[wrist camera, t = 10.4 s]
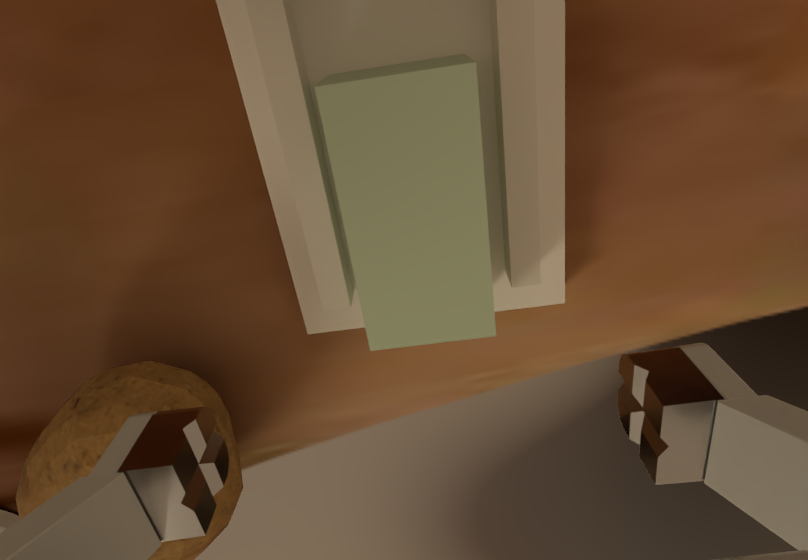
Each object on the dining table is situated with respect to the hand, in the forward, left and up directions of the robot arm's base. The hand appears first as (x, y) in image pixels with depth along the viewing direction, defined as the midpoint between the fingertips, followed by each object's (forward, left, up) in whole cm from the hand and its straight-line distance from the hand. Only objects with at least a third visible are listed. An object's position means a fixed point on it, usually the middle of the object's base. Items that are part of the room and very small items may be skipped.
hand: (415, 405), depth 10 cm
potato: (-11, +15, -14) cm, 23 cm away
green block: (0, 0, -12) cm, 12 cm away
